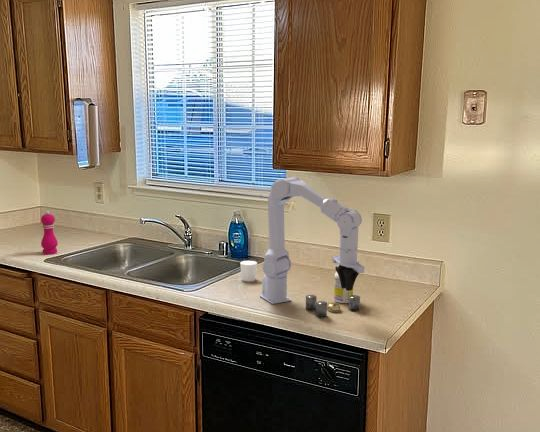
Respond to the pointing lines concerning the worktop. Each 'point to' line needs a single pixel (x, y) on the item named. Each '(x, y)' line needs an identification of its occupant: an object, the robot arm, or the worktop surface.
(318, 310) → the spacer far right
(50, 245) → the pepper mill
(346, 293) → the supplement bottle
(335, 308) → the nut
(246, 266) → the white cylinder
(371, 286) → the worktop surface
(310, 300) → the spacer near
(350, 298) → the grey metal cylinder
